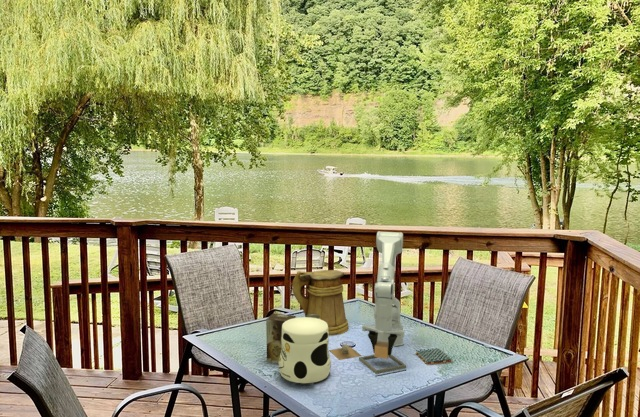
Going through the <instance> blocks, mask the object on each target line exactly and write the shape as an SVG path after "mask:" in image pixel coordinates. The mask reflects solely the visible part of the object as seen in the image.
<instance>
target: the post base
mask: <svg viewBox="0 0 640 417" xmlns="http://www.w3.org/2000/svg"><path fill="white" fill-rule="evenodd" d="M328 351H329V353H331V354H332V355H334V357H335V358H337V359H338V360H339V361H342V360H346V359H352V358H353V359H354V358H359V357H362V355H361V354H360V353H359V352H357V350H355V349H354V348H353V347H352V346H349V345H348V344H342V345H341V348H334V349H328Z"/></svg>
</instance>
